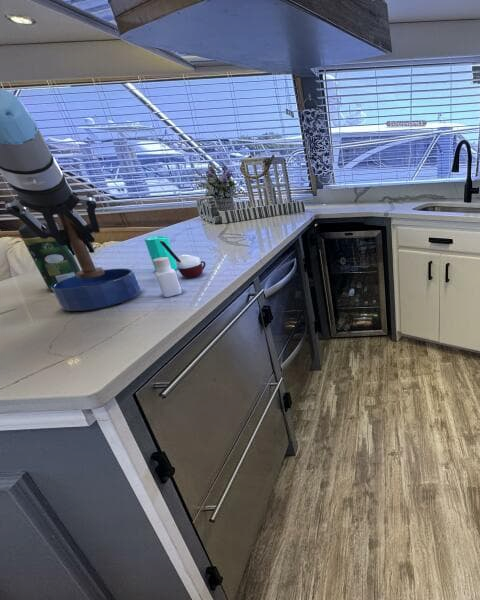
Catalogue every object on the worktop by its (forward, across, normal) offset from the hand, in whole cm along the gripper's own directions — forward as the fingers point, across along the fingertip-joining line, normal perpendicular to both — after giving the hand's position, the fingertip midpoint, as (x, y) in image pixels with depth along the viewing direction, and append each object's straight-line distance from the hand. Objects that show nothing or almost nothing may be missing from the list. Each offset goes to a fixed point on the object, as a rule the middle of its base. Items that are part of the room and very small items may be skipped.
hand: (82, 249), depth 78 cm
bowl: (+8, 0, -11) cm, 13 cm away
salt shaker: (+2, +14, -16) cm, 22 cm away
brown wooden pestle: (+1, 0, -7) cm, 7 cm away
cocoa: (+11, +20, -7) cm, 24 cm away
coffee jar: (+24, -9, +6) cm, 26 cm away
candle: (+22, +15, +3) cm, 27 cm away
